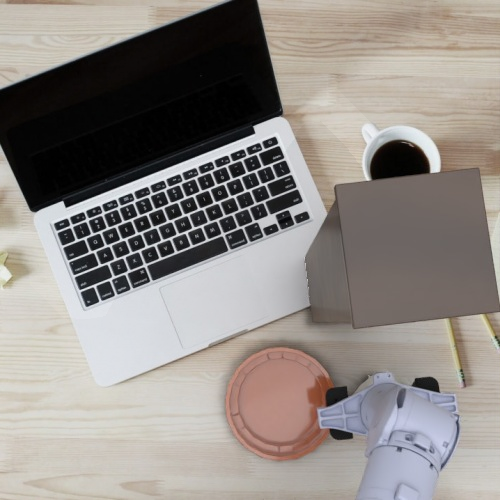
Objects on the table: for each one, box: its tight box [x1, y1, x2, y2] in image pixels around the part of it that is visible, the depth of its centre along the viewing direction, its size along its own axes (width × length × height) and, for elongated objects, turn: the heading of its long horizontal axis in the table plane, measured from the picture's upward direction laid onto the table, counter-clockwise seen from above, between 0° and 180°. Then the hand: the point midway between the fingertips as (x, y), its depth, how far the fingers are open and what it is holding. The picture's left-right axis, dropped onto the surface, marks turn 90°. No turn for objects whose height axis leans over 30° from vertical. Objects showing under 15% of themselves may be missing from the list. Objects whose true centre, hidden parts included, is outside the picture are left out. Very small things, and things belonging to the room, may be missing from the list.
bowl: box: [224, 345, 335, 462], centre depth 85 cm, size 13×13×4 cm
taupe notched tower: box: [304, 166, 500, 330], centre depth 65 cm, size 9×9×47 cm
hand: (375, 401), depth 84 cm, fingers open, 7 cm apart
